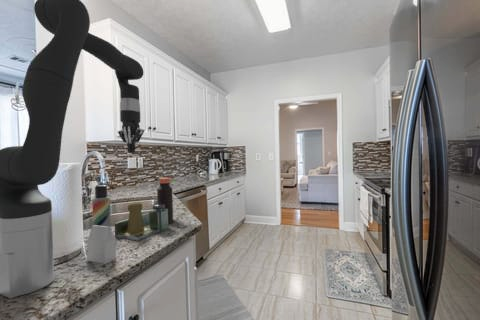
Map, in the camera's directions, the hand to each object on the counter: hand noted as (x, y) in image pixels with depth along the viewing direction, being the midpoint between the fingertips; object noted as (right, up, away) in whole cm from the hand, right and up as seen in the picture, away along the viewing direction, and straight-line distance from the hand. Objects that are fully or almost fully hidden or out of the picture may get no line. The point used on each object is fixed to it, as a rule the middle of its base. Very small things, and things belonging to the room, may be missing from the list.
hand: (131, 152), depth 96 cm
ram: (+11, -30, 0) cm, 32 cm away
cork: (+4, -31, -6) cm, 32 cm away
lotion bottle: (-6, -33, -9) cm, 34 cm away
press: (+6, -32, -3) cm, 33 cm away
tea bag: (+4, -33, -27) cm, 43 cm away
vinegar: (+10, -32, +13) cm, 36 cm away
